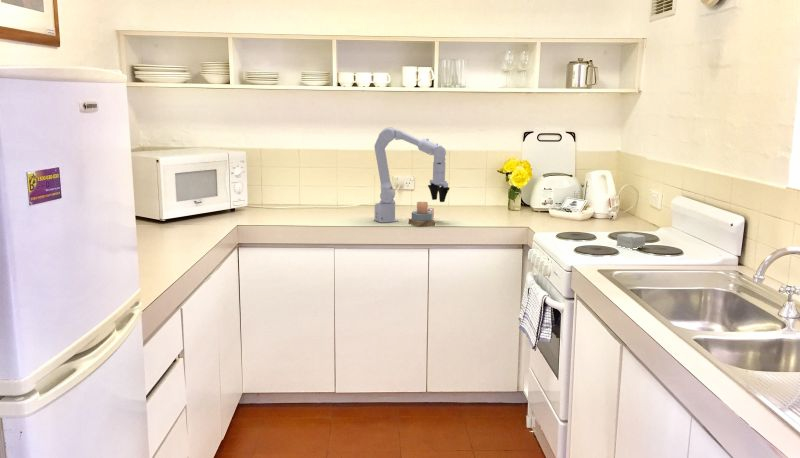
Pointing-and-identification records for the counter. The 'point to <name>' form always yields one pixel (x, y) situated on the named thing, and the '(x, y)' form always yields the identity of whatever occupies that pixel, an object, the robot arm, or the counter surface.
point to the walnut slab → (421, 223)
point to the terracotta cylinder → (422, 207)
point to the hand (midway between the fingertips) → (438, 200)
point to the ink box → (430, 210)
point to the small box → (630, 240)
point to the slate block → (421, 216)
